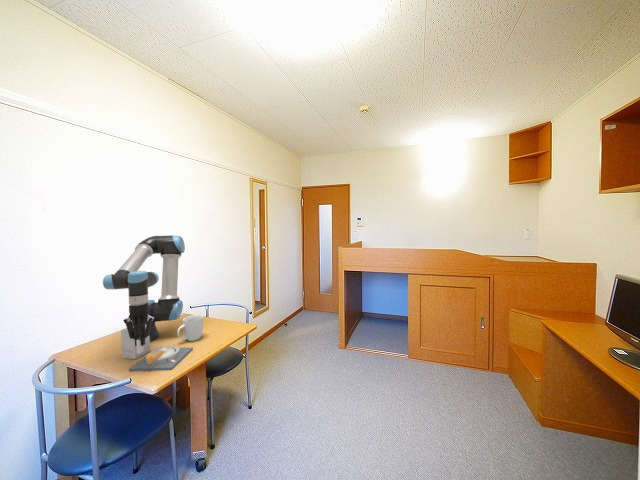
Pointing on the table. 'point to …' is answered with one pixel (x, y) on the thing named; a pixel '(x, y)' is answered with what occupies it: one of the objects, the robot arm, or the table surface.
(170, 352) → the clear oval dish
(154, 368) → the panel
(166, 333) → the table surface
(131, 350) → the supplement box
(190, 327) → the mug
